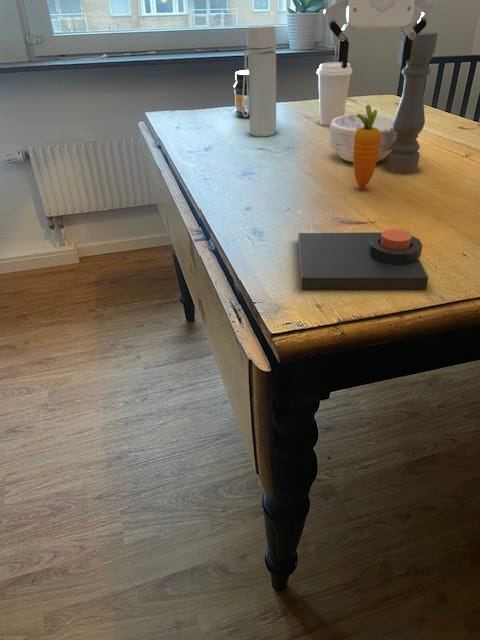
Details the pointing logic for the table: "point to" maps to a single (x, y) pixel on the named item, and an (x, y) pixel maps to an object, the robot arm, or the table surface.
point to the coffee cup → (333, 90)
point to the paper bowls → (345, 130)
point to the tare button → (396, 239)
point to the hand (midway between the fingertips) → (372, 66)
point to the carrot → (366, 148)
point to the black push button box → (358, 263)
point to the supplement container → (239, 92)
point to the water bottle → (261, 80)
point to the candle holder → (411, 106)
